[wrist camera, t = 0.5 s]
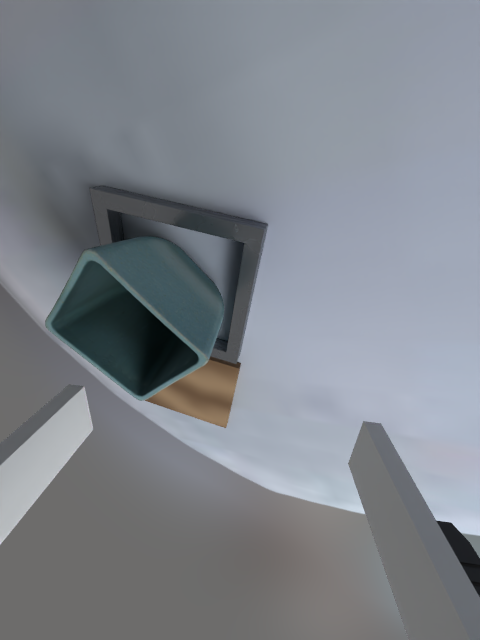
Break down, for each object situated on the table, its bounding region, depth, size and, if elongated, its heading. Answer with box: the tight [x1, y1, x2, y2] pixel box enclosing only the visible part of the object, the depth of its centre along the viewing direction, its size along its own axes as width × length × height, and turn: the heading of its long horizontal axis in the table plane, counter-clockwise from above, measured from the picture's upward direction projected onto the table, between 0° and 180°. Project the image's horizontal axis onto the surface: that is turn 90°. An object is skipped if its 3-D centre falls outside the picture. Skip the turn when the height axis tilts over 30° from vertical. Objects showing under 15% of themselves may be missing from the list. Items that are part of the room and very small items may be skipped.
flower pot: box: [45, 236, 224, 401], centre depth 19 cm, size 9×9×9 cm
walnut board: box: [145, 356, 241, 428], centre depth 31 cm, size 12×12×1 cm
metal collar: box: [89, 186, 268, 364], centre depth 22 cm, size 13×13×2 cm
